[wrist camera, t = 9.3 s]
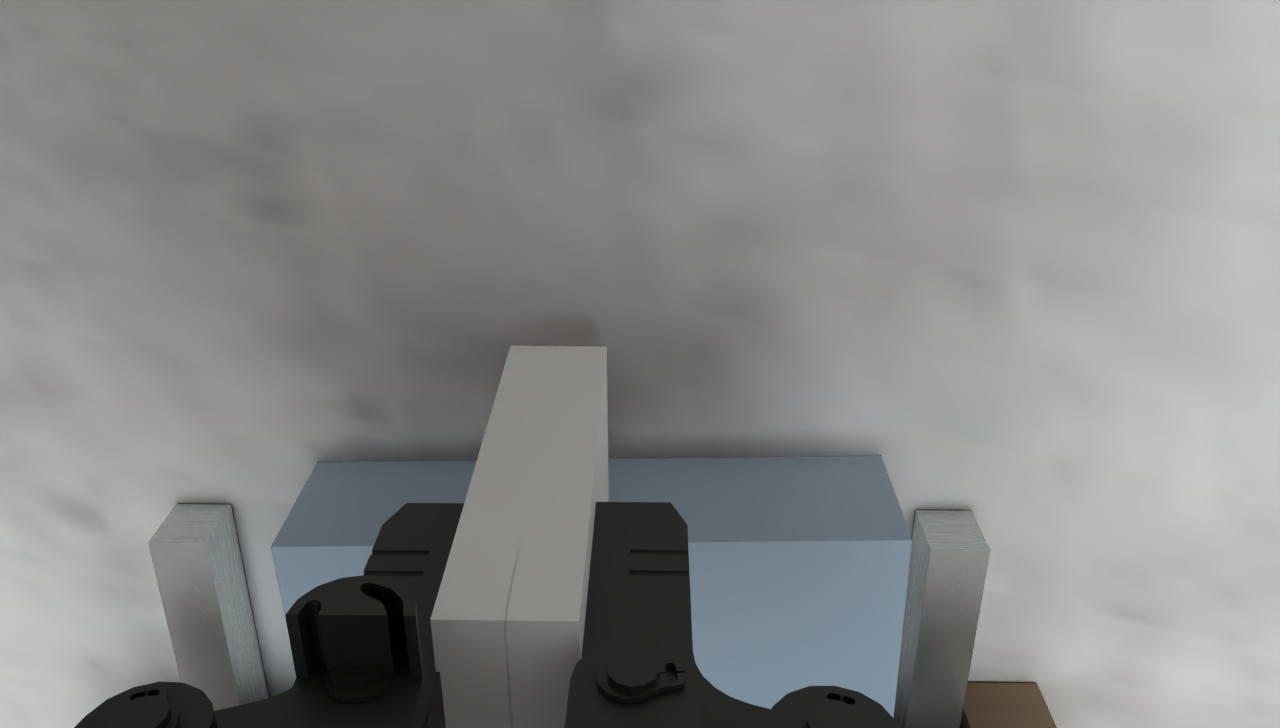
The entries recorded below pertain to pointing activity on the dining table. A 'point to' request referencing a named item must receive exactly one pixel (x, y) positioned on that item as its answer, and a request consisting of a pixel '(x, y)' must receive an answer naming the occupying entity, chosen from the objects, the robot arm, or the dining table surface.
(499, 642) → the robot arm
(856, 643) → the light blue block
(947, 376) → the dining table surface
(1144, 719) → the dining table surface
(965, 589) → the shelf
